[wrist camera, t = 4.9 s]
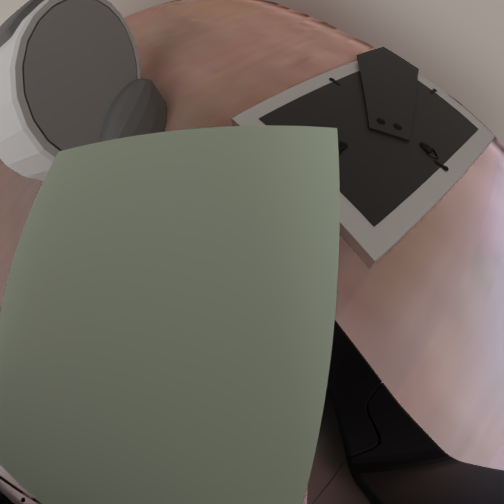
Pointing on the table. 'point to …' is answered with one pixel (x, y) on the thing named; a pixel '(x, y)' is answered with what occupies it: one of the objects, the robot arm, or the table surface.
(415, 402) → the table surface
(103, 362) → the pale green block
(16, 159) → the alarm clock
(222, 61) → the table surface
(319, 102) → the picture frame
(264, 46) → the table surface
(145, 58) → the table surface
